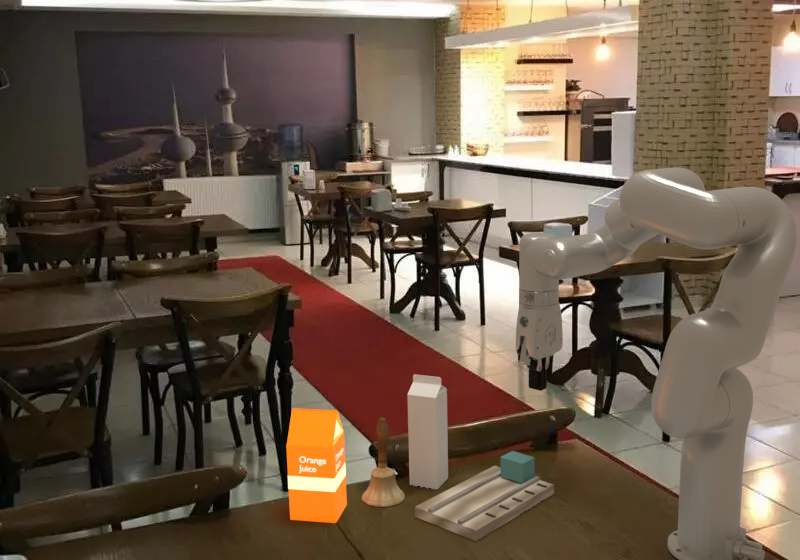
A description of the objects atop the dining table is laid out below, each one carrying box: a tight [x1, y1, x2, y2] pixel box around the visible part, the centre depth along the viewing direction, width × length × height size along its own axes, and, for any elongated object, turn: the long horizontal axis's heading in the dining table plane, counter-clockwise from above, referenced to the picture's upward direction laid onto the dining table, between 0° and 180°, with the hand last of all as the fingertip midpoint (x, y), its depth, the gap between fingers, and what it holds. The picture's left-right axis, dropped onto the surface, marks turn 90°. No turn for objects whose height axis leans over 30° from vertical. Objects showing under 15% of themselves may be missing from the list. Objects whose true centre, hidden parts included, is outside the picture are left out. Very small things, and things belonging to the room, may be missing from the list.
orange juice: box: [285, 407, 348, 524], centre depth 156 cm, size 8×9×20 cm
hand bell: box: [361, 417, 406, 508], centre depth 162 cm, size 8×8×16 cm
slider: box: [499, 450, 536, 484], centre depth 165 cm, size 5×4×4 cm
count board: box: [414, 465, 555, 542], centre depth 158 cm, size 14×24×3 cm, turn 137°
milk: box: [407, 373, 449, 491], centre depth 167 cm, size 6×6×22 cm
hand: (537, 388), depth 168 cm, fingers closed
